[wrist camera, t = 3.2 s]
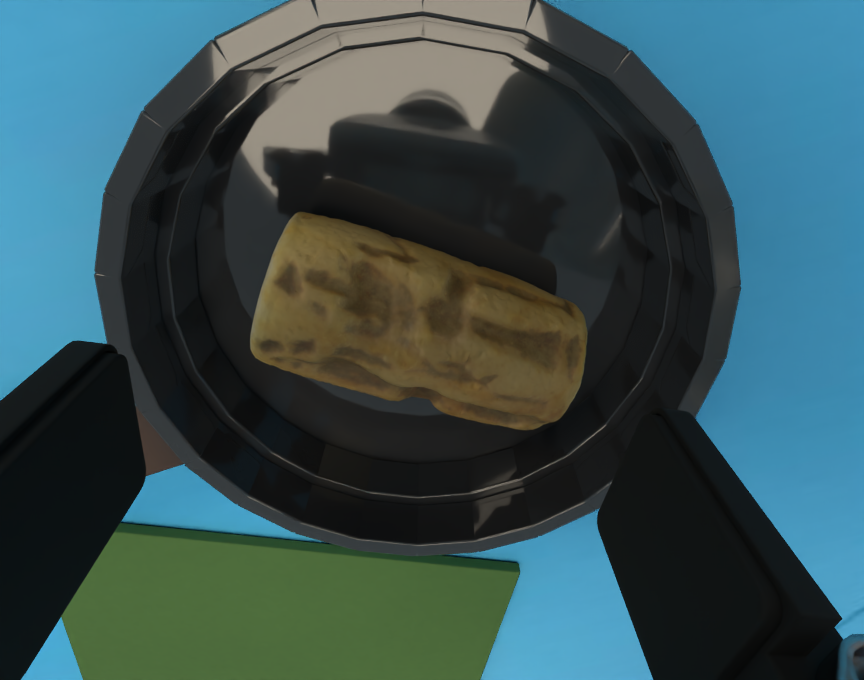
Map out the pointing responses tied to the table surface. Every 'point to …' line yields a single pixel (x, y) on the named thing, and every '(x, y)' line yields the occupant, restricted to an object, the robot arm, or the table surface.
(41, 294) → the table surface
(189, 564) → the green mat
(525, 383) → the carved stone cylinder
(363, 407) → the pan
